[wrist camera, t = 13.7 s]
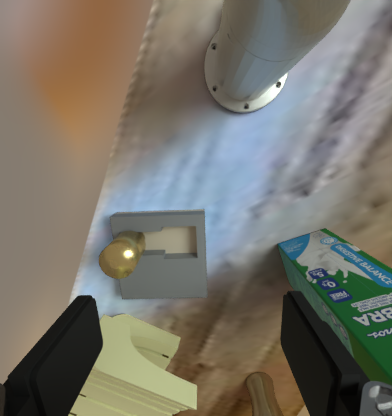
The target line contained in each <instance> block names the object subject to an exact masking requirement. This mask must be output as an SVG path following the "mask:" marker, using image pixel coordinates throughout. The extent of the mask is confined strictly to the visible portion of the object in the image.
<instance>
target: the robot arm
mask: <svg viewBox="0 0 392 416" xmlns="http://www.w3.org/2000/svg"><path fill="white" fill-rule="evenodd" d="M349 2H350V0H224V2H223V9H222V16H221V23H220V29H219V30H218V31H217V32H216V34H215V35H214V37H213V38H212V40H211V41H210V44H209V46H208V49H207V51H206V56H205V62H204V75H205V80H206V84H207V87H208V89H209V92H210V93H211V95H212V97H213V98H214V99H215V100H216V101H217V102H218V103H219V104H220V105H221V106H223V107H224V108H226V109H228V110H230V111H233V112H238V113H249V112H254V111H256V110H259V109H261V108H263V107H264V106H266V105H268V104H269V103H270V102H271V101H272V100H274V98H275V97H276V96H277V95H278V94H279V93H280V91H281V90H282V88H283V86H284V84H285V81H286V79H287V76H288V72H289V70H290V69H292V68H293V67H294V66H295V65H296V64H297V63H298V62H299V61H300V60H301V59H302V58H303V57H304V56H305V55H306V54H307V53H309V52H310V51H311V50H312V49H313V48H314V47H315V46H316V45H317V44H318V43H319V42H320V41H321V40H322V39H323V38H324V37H325V36H326V35H327V34H328V33H329V32H330V31H331V30H332V28H333V27H334V26H335V25H336V23H337V22H338V21H339V19H340V18H341V16H342V15H343V13H344V11H345V10H346V8H347V6H348V4H349ZM212 48H215V50H213V49H212ZM276 85H278V88H277V87H276ZM214 88H215V89H216V91H213V89H214ZM244 106H246V107H247V108H246V109H244ZM281 346H282V349H283V351H284V354H285V356H286V359H287V361H288V363H289V366H290V368H291V371H292V373H293V376H294V378H295V380H296V383H297V385H298V388H299V390H300V393H301V395H302V397H303V400H304V402H305V405H306V407H307V410H308V412H309V414H310V416H392V386H391V385H388V384H386V383H383V382H378V381H370V379H369V378H368V377H367V375H366V374H365V373H364V371H363V370H362V369H361V367H360V366H359V365H358V363H357V362H356V360H355V359H354V358H353V356H352V355H351V354H350V352H349V351H348V350H347V348H346V347H345V346H344V344H343V343H342V342H341V340H340V339H339V338H338V336H337V335H336V333H335V332H334V331H333V329H332V328H331V327H330V325H329V324H328V323H327V322H326V321H322V320H321V318H320V317H319V315H318V314H317V313H316V311H315V310H314V309H313V307H312V306H311V304H310V303H309V302H308V300H307V299H306V297H305V296H304V295H303V293H302V292H301V291H288V292H287V294H285V295H284V296H283V310H282V325H281ZM102 347H103V338H102V332H101V327H100V322H99V316H98V311H97V306H96V301H95V299H94V298H92V296H90V295H80V296H77V297H76V298H75V300H74V301H73V302H72V303H71V304H70V305H69V306H68V308H67V309H66V310H65V311H64V312H63V313H62V315H61V316H60V317H59V318H58V319H57V320H56V322H55V323H54V324H53V325H52V326H51V327H50V328H49V329H48V331H47V332H46V333H45V334H44V335H43V337H42V338H41V339H40V340H39V341H38V342H37V343H36V344H35V346H34V347H33V348H32V349H31V350H30V351H29V353H28V354H27V355H26V356H25V357H24V358H23V359H22V361H21V362H20V363H19V364H18V365H17V366H16V367H15V369H14V370H13V371H12V372H11V373H10V374H9V376H8V379H7V380H6V382H5V383H4V384H3V385H2V384H1V383H0V416H68V415H69V413H70V411H71V409H72V407H73V405H74V403H75V401H76V399H77V397H78V395H79V394H80V392H81V390H82V388H83V386H84V384H85V382H86V380H87V378H88V376H89V374H90V372H91V370H92V368H93V366H94V364H95V362H96V360H97V358H98V356H99V354H100V352H101V350H102Z"/></svg>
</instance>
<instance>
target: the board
mask: <svg viewBox="0 0 392 416" xmlns="http://www.w3.org/2000/svg"><path fill="white" fill-rule="evenodd" d="M110 223H111V230H112V236H113V240H114V239H115V238H116V237H117V236H118V235H119V234H120V233H122V232H124V231H135V232H143V234H144V235H145V243H146V249H145V252H144V253H143V255H142V257H141V259H140V260H139V262H138V264H137V265H136V267H135V269H134V271H133V272H132V273H131V274H130V275H129V276H128V277H125V278H122V279H119V282H120V289H121V295H122V299H154V298H203V297H207V268H206V240H205V212H204V209H197V210H169V211H141V212H117V213H115V214H114V215H112V216H111V217H110Z"/></svg>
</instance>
